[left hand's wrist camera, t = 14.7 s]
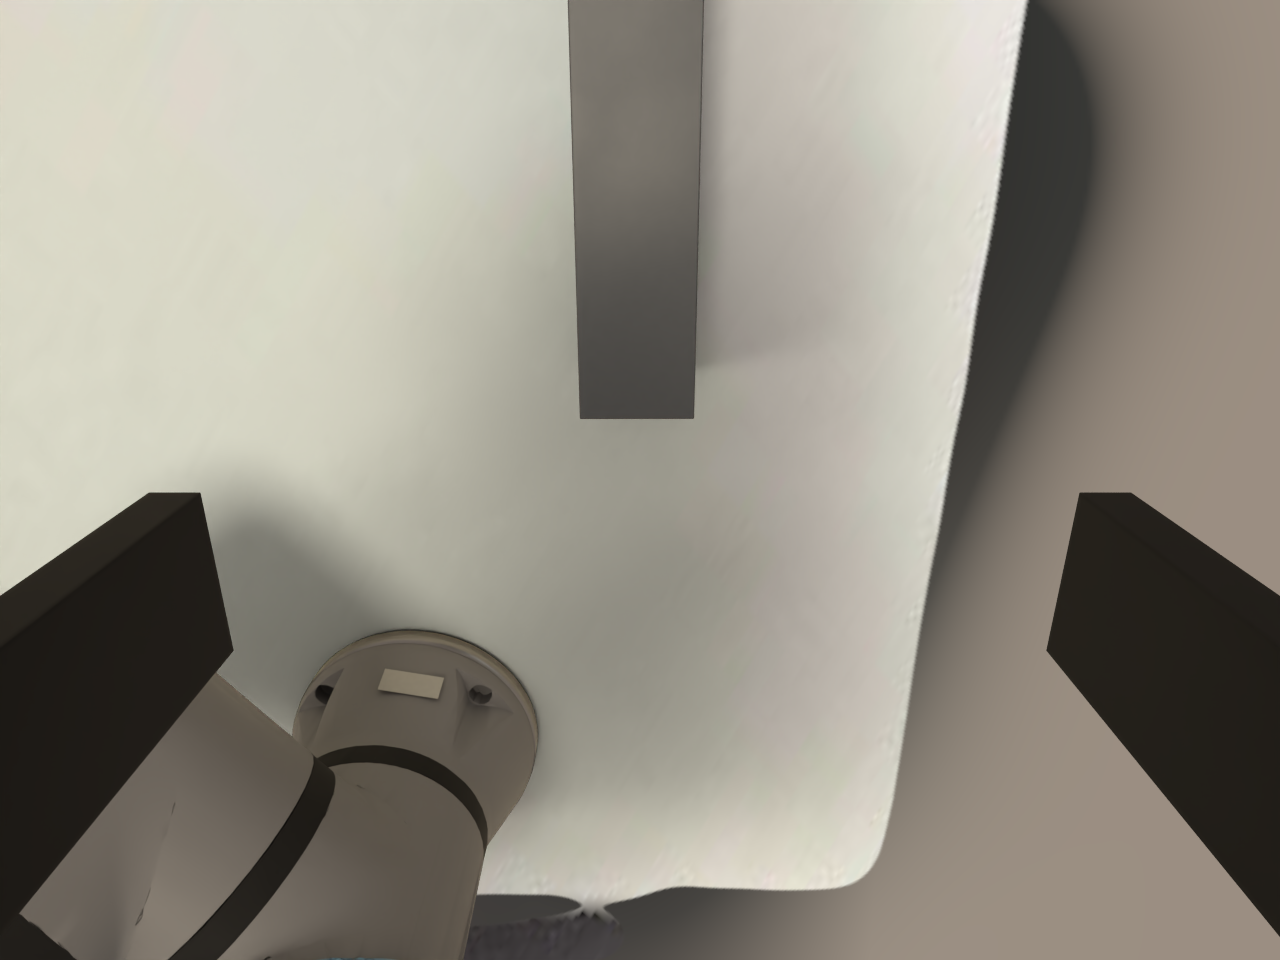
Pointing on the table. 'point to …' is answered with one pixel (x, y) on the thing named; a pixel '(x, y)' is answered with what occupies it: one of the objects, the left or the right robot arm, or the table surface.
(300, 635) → the table surface
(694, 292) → the post
